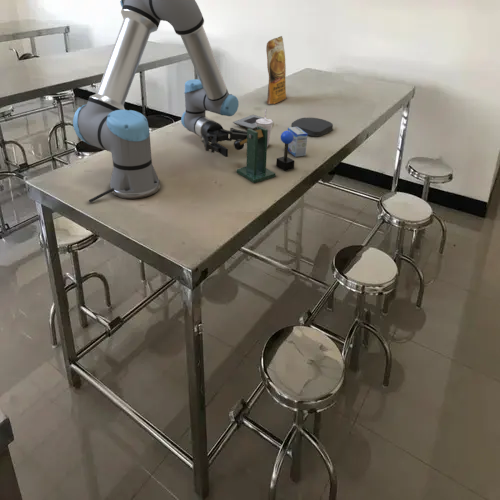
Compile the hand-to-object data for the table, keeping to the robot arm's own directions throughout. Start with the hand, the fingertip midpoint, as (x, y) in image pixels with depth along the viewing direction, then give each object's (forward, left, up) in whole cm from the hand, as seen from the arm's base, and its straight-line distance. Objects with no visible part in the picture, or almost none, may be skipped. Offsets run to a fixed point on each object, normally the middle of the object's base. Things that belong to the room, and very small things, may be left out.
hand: (243, 148), depth 165 cm
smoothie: (+18, +12, -7) cm, 23 cm away
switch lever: (0, -3, +2) cm, 4 cm away
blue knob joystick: (+12, -8, -7) cm, 16 cm away
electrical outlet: (+28, +32, -7) cm, 43 cm away
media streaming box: (+46, +15, -7) cm, 49 cm away
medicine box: (+24, 0, -7) cm, 25 cm away
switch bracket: (0, -7, -7) cm, 10 cm away
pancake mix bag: (+59, +55, -7) cm, 81 cm away
